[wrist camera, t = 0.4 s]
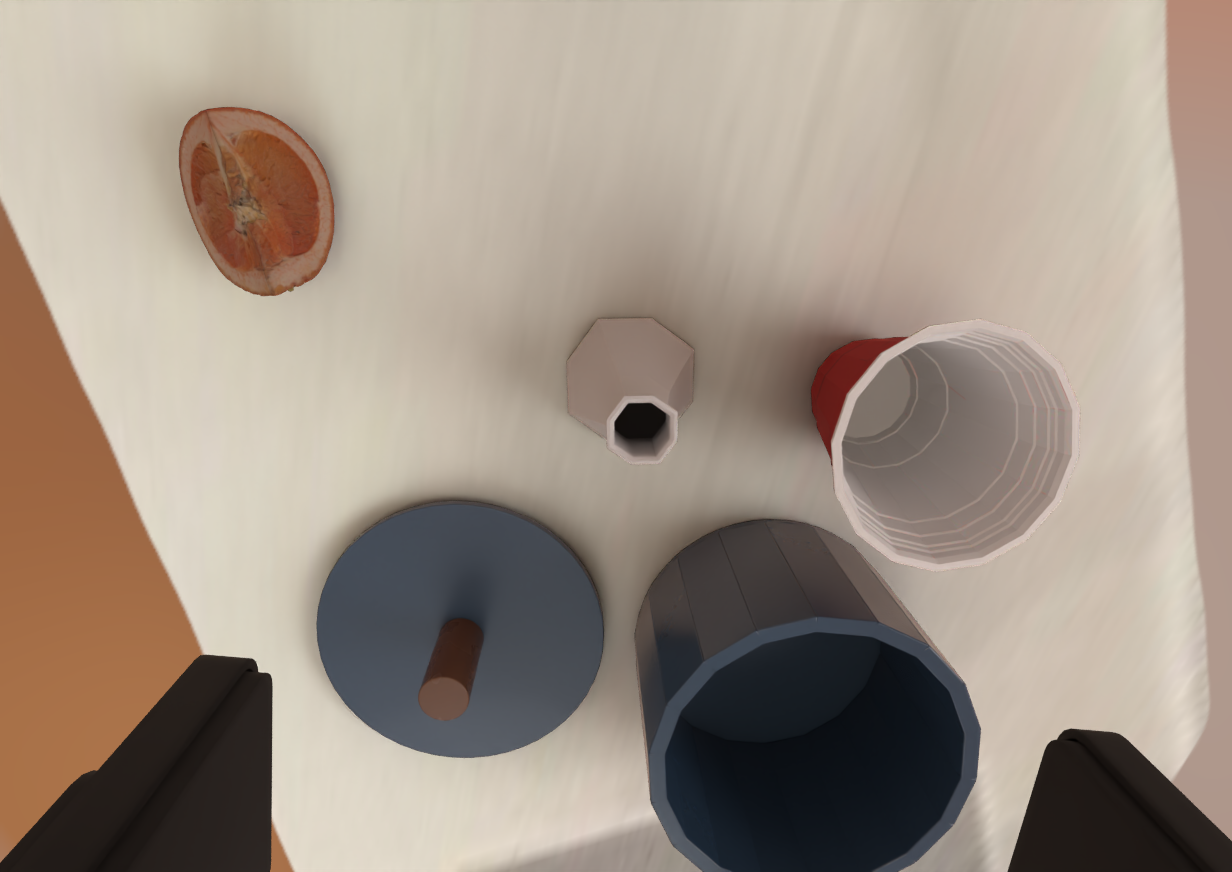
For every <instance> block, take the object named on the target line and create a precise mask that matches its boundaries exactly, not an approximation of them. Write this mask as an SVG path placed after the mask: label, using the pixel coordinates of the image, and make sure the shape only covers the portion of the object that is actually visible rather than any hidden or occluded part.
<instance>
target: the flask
mask: <svg viewBox="0 0 1232 872" xmlns="http://www.w3.org/2000/svg"><path fill="white" fill-rule="evenodd" d="M693 372H694V349H693V348H692V347H690V346H689V345H688V344H686V343H685V342H683V341H682V340H681V339H679V338H678V337H677V336H675V335H674V334H673V333H671V332H670V331H669V330H667V329H666V328H665V327H663V326H662V325H660V324H659V323H658V322H656V321H655V320H654V319H652V318H617V319H597V321H596V322H595V323H594V325H593V326H592V328H591V329H590V330H589V332H588V333H587V334H586V336H585V337H584V339H583V340H582V341H581V343H580V344H579V345H578V347H577V348H576V350H575V351H574V352H573V354H572V355H571V357H570V358H569V359H568V361H567V391H568V413H569V414H570V415H571V416H573V417H574V418H576V419H577V420H579V421H580V422H582V423H583V424H584V425H586V426H587V427H589V428H590V429H592V430H593V431H595V432H596V433H597V434H599V435H600V436H602V437H603V438H605V439H606V440H607V448H608V449H609V450H611V451H612V452H613V453H615V454H616V455H618V456H619V457H621V458H622V459H624V460H625V461H626V462H628V463H629V464H660V463H661V461H662V460H663V459H664V458H665V456H666V455H667V454H668V452H669V451H670V450H671V449H672V447H673V446H674V445H675V443H676V442H677V431H678V419H679V418H680V417H681V416H682V414H683V413H684V412H685V410H686V409H687V408H688V407H689V405H690V404H691V403H692V401H693Z"/></svg>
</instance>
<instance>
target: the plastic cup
mask: <svg viewBox="0 0 1232 872" xmlns="http://www.w3.org/2000/svg"><path fill="white" fill-rule="evenodd" d="M811 398H812V412H813V414H814V416H815V419H816V421H817V428H818V431H819V433H820V435H821V438H822V440H823V442H824V445H825V447H826V449H827V451H828V454H829V456H830V458H831V465H832V469H833V485H834V491H835V494H836V496H837V498H838V500H839V502H840V504H841V506H842V508H843V509H844V511H845V513H846V515H847V517H848V519H849V521H850V523H851V525H852V527H853V529H854V531H855V533H856V534H857V535H858V536H859V537H861V538H862V539H863V540H865V541H866V542H867V543H869V544H870V545H871V546H872V547H874V548H875V549H876V550H878V551H879V552H880V553H882V554H883V555H884V556H886V557H887V558H888V559H889V560H891V561H892V562H896V563H900V564H905V565H909V566H913V567H917V568H922V569H926V570H930V571H934V572H940V571H947V570H953V569H959V568H965V567H972V566H978V565H984V564H986V563H988V562H989V561H991V560H993V559H995V558H996V557H998V556H1000V555H1002V554H1004V553H1005V552H1007V551H1009V550H1011V549H1012V548H1014V547H1016V546H1018V545H1020V544H1021V543H1023V542H1025V541H1027V540H1028V539H1029V538H1030V536H1031V535H1032V534H1033V533H1034V532H1035V531H1036V530H1037V529H1038V527H1039V526H1040V525H1041V524H1042V523H1043V522H1044V521H1045V519H1046V518H1047V517H1048V516H1049V515H1050V514H1051V513H1052V512H1053V510H1054V509H1055V508H1056V507H1057V506H1058V505H1059V504H1060V502H1061V500H1062V498H1063V495H1064V493H1065V490H1066V488H1067V485H1068V483H1069V480H1070V478H1071V475H1072V473H1073V470H1074V468H1075V465H1076V463H1077V460H1078V458H1079V441H1080V406H1079V404H1078V401H1077V399H1076V396H1075V394H1074V391H1073V389H1072V387H1071V384H1070V382H1069V379H1068V377H1067V375H1066V372H1065V370H1064V367H1063V365H1062V363H1061V362H1060V361H1058V360H1057V359H1056V358H1055V357H1054V356H1053V355H1052V354H1051V353H1050V352H1048V351H1047V350H1046V349H1045V348H1044V347H1043V346H1042V345H1041V344H1040V343H1038V342H1037V341H1036V340H1035V339H1034V338H1033V337H1032V336H1031V335H1030V334H1028V333H1027V332H1024V331H1021V330H1017V329H1014V328H1011V327H1007V326H1004V325H1000V324H997V323H993V322H990V321H986V320H983V319H975V320H968V321H961V322H953V323H946V324H939V325H932V326H928V327H926V328H924V329H922V330H920V331H918V332H917V333H915V334H913V335H911V336H910V337H893V338H885V339H867V340H859V341H853V342H851V343H849V344H847V345H845V346H843V347H841V348H840V349H838V350H836V351H834V352H832V353H831V354H830V355H829V357H828V358H827V359H826V360H825V361H824V362H823V364H822V365H821V366H820V367H819V368H818V371H817V373H816V376H815V379H814V382H813V385H812V389H811Z"/></svg>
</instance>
